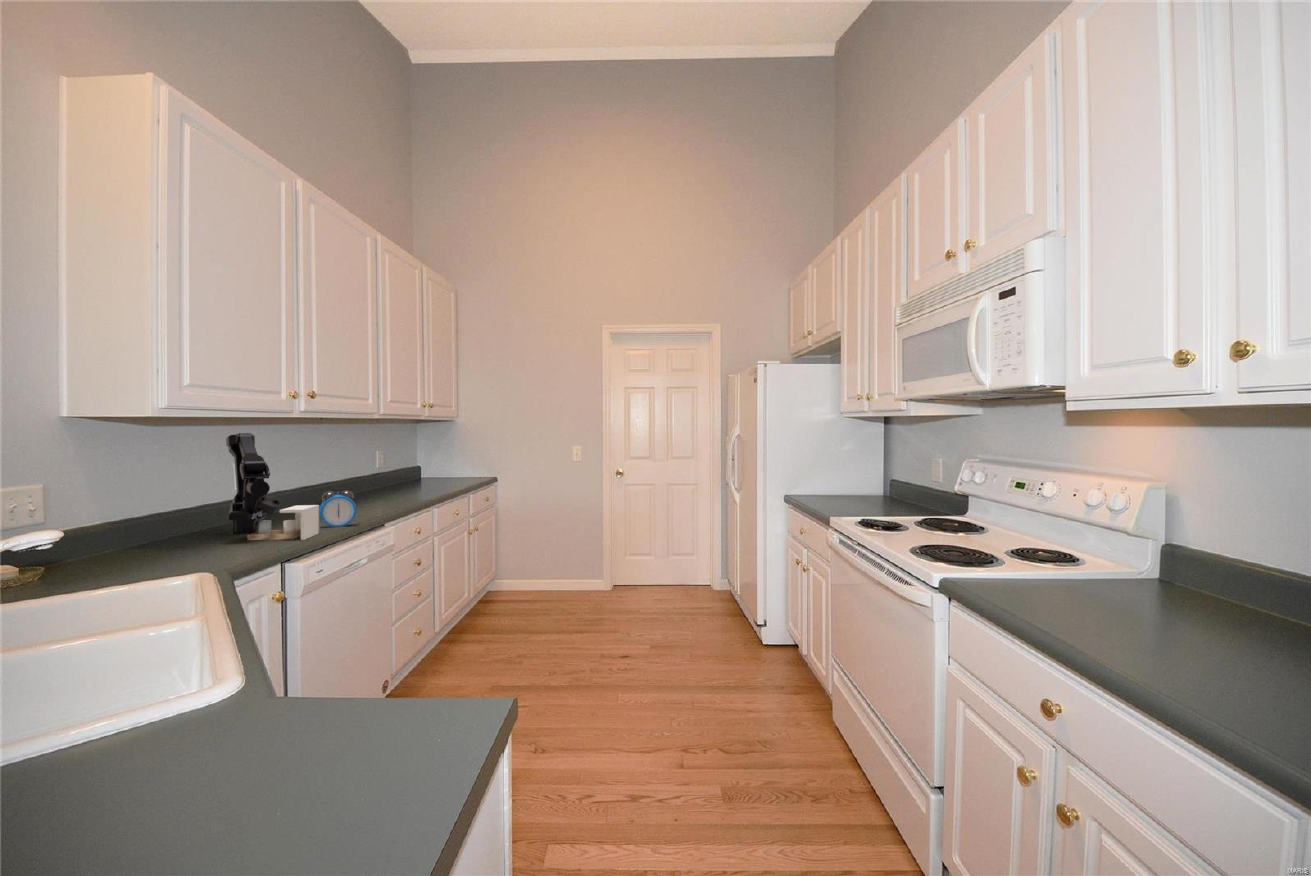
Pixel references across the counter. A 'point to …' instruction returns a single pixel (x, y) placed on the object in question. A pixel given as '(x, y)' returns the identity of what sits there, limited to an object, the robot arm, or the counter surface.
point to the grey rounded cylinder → (264, 527)
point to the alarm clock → (337, 509)
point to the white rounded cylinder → (289, 526)
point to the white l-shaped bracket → (305, 519)
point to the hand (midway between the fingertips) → (251, 536)
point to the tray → (274, 535)
